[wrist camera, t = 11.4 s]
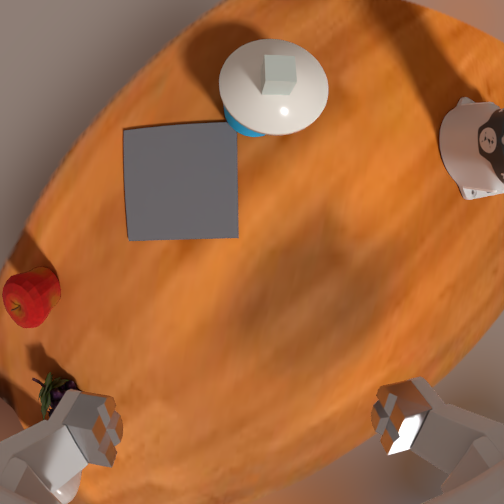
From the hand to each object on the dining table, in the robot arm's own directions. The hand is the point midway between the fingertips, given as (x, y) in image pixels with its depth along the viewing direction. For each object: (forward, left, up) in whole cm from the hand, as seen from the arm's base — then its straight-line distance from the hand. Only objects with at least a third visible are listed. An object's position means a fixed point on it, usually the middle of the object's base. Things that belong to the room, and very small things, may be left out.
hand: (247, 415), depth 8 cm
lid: (-4, -17, -27) cm, 32 cm away
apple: (+33, +9, -36) cm, 49 cm away
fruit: (+36, +33, -36) cm, 60 cm away
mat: (+8, -6, -35) cm, 37 cm away
